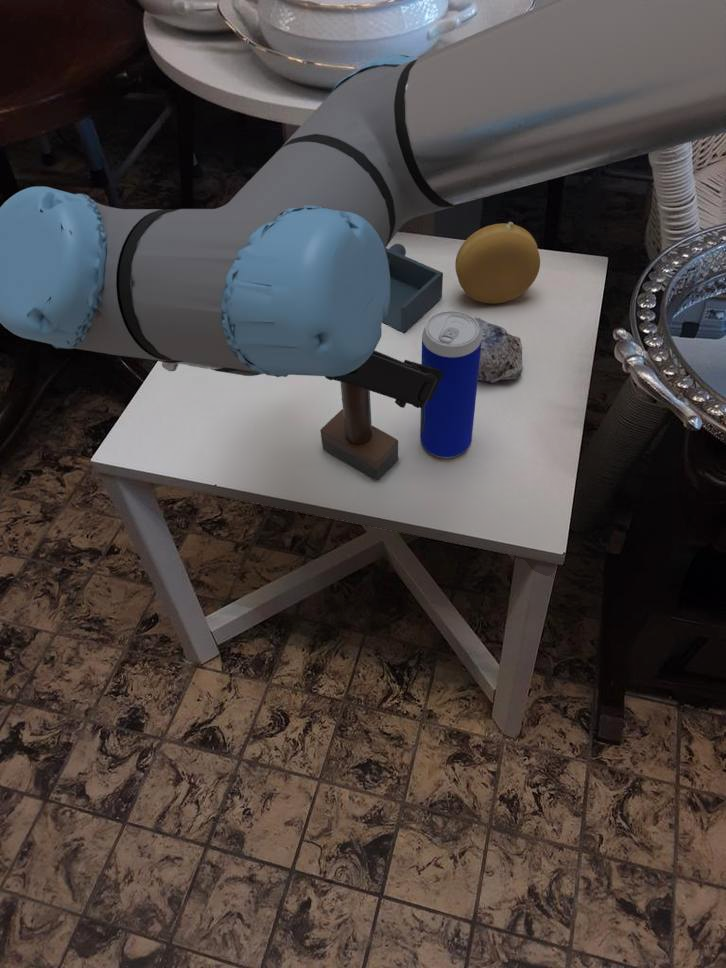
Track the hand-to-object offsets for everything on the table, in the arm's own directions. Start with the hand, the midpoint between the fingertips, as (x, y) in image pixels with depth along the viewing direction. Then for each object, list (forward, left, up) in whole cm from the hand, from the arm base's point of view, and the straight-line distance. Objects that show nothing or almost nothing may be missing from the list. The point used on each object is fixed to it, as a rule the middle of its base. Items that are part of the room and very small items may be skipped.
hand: (371, 353), depth 69 cm
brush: (0, +2, -12) cm, 12 cm away
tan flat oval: (+2, -26, -12) cm, 29 cm away
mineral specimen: (-2, -16, -12) cm, 20 cm away
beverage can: (-6, -4, -12) cm, 14 cm away
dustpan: (+15, -20, -12) cm, 28 cm away
